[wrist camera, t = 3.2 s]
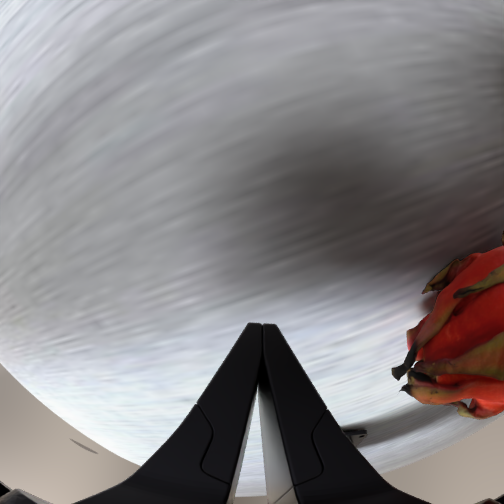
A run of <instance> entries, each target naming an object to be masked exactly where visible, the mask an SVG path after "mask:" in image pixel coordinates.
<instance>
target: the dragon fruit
mask: <svg viewBox="0 0 504 504" xmlns="http://www.w3.org/2000/svg"><path fill="white" fill-rule="evenodd" d="M502 244H503V246H500V247H497V248H495V249H493V250H490V251H488V252H486V253H482V254H481V253H472V254H470V255H469V256H467V257H466V258H464V259H463V260H461V261H459V259H455V260H454V261H452V262H451V264H450V265H449V266H447V267H446V268H445V269H443V270H442V271H441V272H440V273H439V274H438V275H436V276H435V277H434V279H433V280H432V281H431V282H430V283H428V284H427V286H426V288H425V289H424V290H423V292H422V294H424V293H427V292H428V291H434V290H437V291H440V290H442V291H441V292H440V293H439V295H438V296H437V299H436V302H435V306H434V309H433V311H432V313H430V314H428V315H427V316H426V317H424V318H423V319H422V320H421V321H420V322H419V324H418V325H417V326H416V327H414V328H412V329H409V330H408V331H407V346H408V350H409V352H408V354H407V357H406V359H405V361H404V363H403V364H402V365H400V366H398V367H394V368H392V375H393V376H394V378H395V379H397V380H398V381H399V380H400V378H401V377H402V376H403V375H405V374H406V373H407V377H408V383H407V384H406V385H404V386H403V387H402V389H401V390H400V391H405V392H406V393H407V394H409V395H410V396H412V397H414V398H415V399H416V400H418V401H419V402H421V403H423V404H431V405H440V404H442V405H447V406H449V405H453V406H455V407H457V408H458V410H457V412H458V414H459V415H460V416H463V417H470V418H474V419H479V420H480V419H486V418H489V417H491V416H495V415H497V414H499V413H501V412H502V411H504V231H503V234H502ZM415 361H418V362H417V363H415V365H414V368H411V367H412V365H413V364H414V362H415ZM399 393H400V392H399ZM466 398H468V399H470V398H472V400H471V403H470V406H469V408H468V407H467V405H466V404H465V403H463V402H461V401H460V400H462V399H466ZM429 402H430V403H429ZM432 403H434V404H432Z"/></svg>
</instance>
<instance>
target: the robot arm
mask: <svg viewBox="0 0 504 504" xmlns="http://www.w3.org/2000/svg"><path fill="white" fill-rule="evenodd" d="M257 388H258V402H259V413H260V425H261V436H262V447H263V458H264V469H265V479H266V490H267V500H268V504H431V503H429V502H426V501H424V500H421V499H419V498H416V497H414V496H412V495H409V494H407V493H405V492H402V491H400V490H398V489H397V488H395V487H393V486H392V485H390V484H389V483H388V482H387V481H385V480H384V479H383V478H382V477H381V476H380V475H379V473H378V472H377V471H376V470H375V469H374V468H373V467H372V466H371V464H370V463H369V462H368V461H367V460H366V459H365V458H364V456H363V455H362V454H361V453H360V452H359V451H358V449H357V448H356V446H357V445H358V444H359V443H360V442H361V441H362V440H363V439H364V438H365V437H366V436H367V431H366V430H360V431H352V432H343V431H342V429H341V428H340V426H339V425H338V423H337V422H336V420H335V419H334V417H333V416H332V414H331V412H330V411H329V410H328V409H327V406H326V405H325V403H324V401H323V400H322V398H321V397H320V395H319V393H318V392H317V390H316V389H315V387H314V385H313V384H312V382H311V380H310V379H309V377H308V376H307V374H306V372H305V371H304V369H303V367H302V366H301V364H300V363H299V361H298V359H297V358H296V356H295V354H294V353H293V351H292V349H291V348H290V346H289V345H288V343H287V341H286V340H285V338H284V336H283V335H282V333H281V331H280V330H279V328H278V326H277V325H276V324H266V323H264V324H263V325H262V324H261V323H248V324H247V325H246V327H245V329H244V330H243V332H242V333H241V335H240V336H239V338H238V340H237V341H236V343H235V344H234V346H233V347H232V349H231V351H230V352H229V354H228V355H227V357H226V358H225V360H224V361H223V363H222V364H221V366H220V368H219V369H218V371H217V372H216V374H215V375H214V377H213V378H212V380H211V381H210V383H209V384H208V386H207V387H206V389H205V390H204V392H203V393H202V395H201V396H200V398H199V399H198V401H197V404H195V405H194V406H193V408H192V409H191V411H190V412H189V414H188V415H187V416H186V418H185V419H184V420H183V422H182V423H181V424H180V426H179V427H178V428H177V429H176V431H175V432H174V433H173V434H172V435H171V436H170V437H169V439H168V440H167V441H166V442H165V443H164V444H163V445H162V446H161V447H160V448H159V449H158V450H157V451H156V452H155V453H154V454H153V455H152V456H151V457H150V458H149V459H148V460H147V461H146V462H145V463H144V464H143V465H142V466H141V467H140V468H139V469H138V470H137V471H136V472H135V473H134V474H132V475H131V476H130V477H129V478H127V479H126V480H124V481H123V482H121V483H119V484H118V485H115V486H113V487H111V488H109V489H107V490H105V491H102V492H100V493H98V494H96V495H93V496H90V497H88V498H86V499H83V500H80V501H78V502H75V503H73V504H233V501H234V497H235V493H236V489H237V484H238V480H239V476H240V471H241V467H242V462H243V458H244V453H245V448H246V444H247V439H248V434H249V429H250V425H251V420H252V415H253V410H254V405H255V400H256V394H257ZM326 409H327V410H326ZM0 504H52V503H49V502H47V501H45V500H42V499H40V498H38V497H36V496H34V495H32V494H29V493H27V492H25V491H23V490H20V489H14V490H12V489H10V488H9V487H8V486H6V485H5V484H4V483H2V482H1V481H0ZM475 504H504V494H503V495H501V496H499V497H498V498H496V499H494V500H493V499H490V498H488V499H485V500H482V501H480V502H478V503H475Z"/></svg>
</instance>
